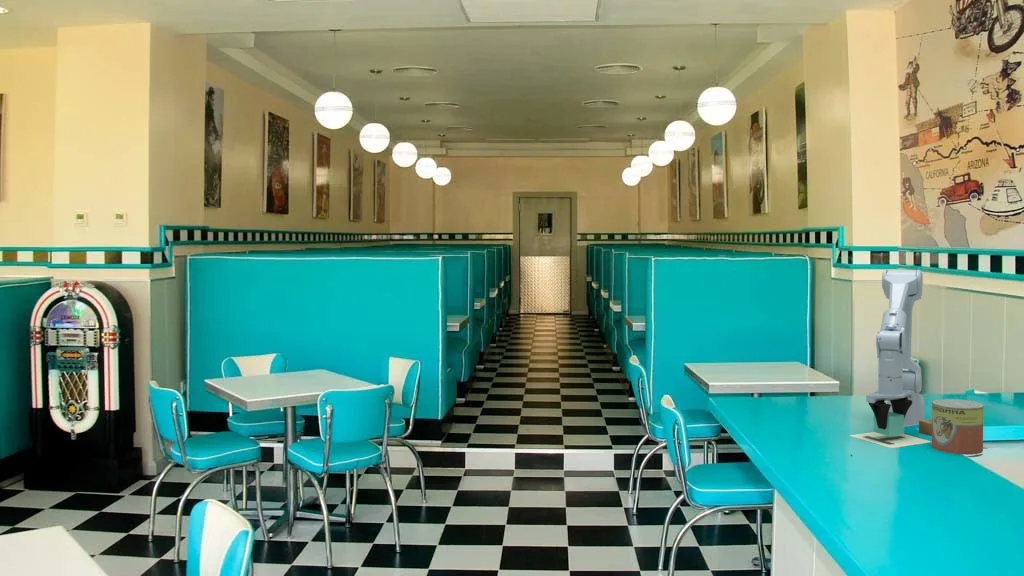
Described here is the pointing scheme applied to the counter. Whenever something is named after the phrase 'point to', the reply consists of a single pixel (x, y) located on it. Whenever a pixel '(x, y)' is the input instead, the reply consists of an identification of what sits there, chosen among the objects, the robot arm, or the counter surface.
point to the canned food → (957, 426)
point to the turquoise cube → (891, 425)
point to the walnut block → (925, 427)
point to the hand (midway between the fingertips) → (890, 427)
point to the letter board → (890, 439)
